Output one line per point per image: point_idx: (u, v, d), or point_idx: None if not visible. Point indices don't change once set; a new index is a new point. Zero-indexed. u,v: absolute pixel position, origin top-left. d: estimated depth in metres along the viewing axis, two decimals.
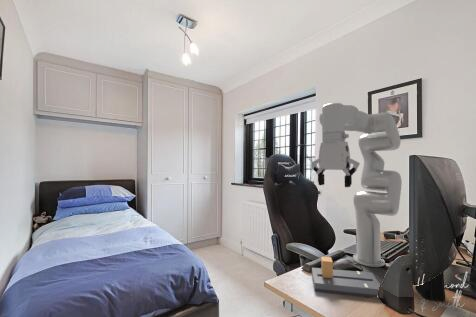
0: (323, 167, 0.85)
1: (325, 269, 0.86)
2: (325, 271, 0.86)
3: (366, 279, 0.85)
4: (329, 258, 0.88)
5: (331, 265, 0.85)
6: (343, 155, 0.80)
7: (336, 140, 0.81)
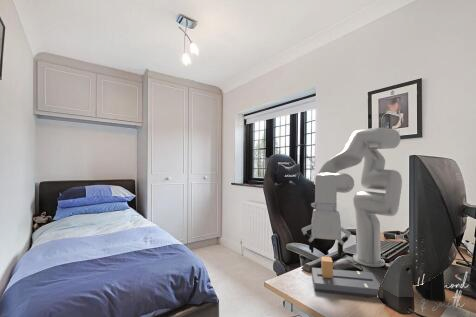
0: None
1: (325, 269, 0.86)
2: (325, 271, 0.86)
3: (366, 279, 0.85)
4: (329, 258, 0.88)
5: (331, 265, 0.85)
6: None
7: None
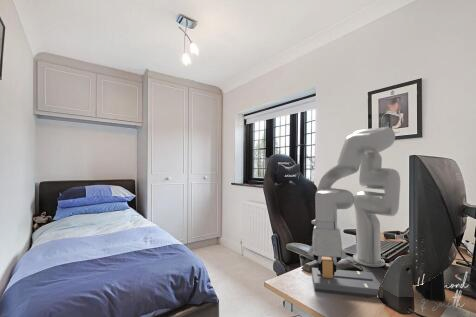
0: None
1: (325, 269, 0.86)
2: (325, 271, 0.86)
3: (366, 279, 0.85)
4: (329, 258, 0.88)
5: (331, 265, 0.85)
6: None
7: None
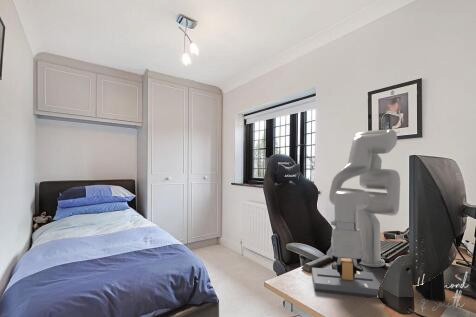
0: None
1: (344, 271, 0.84)
2: (345, 273, 0.84)
3: (366, 279, 0.85)
4: (348, 259, 0.87)
5: (351, 267, 0.84)
6: None
7: None
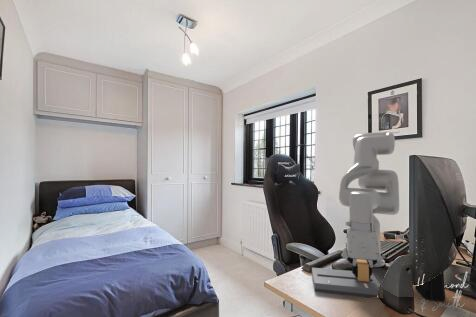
0: None
1: (360, 273, 0.83)
2: (361, 274, 0.83)
3: None
4: (364, 261, 0.86)
5: (367, 268, 0.83)
6: None
7: None
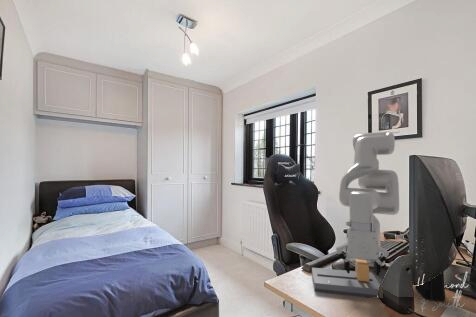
0: None
1: (360, 273, 0.83)
2: (361, 274, 0.83)
3: None
4: (364, 261, 0.86)
5: (367, 268, 0.83)
6: None
7: None
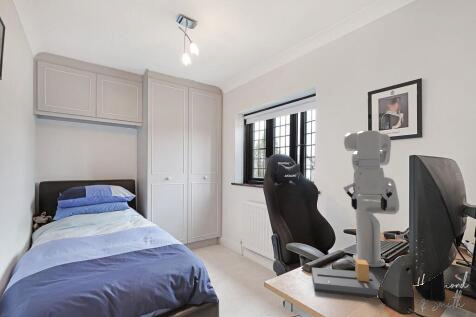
0: None
1: (360, 273, 0.83)
2: (361, 274, 0.83)
3: None
4: (364, 261, 0.86)
5: (367, 268, 0.83)
6: None
7: None
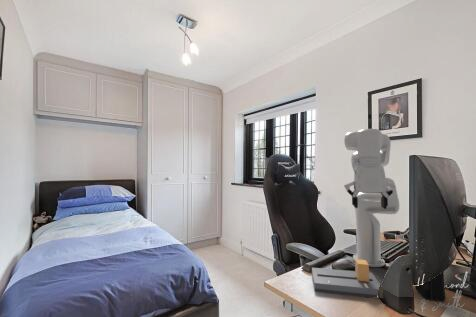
0: None
1: (360, 273, 0.83)
2: (361, 274, 0.83)
3: None
4: (364, 261, 0.86)
5: (367, 268, 0.83)
6: None
7: None
